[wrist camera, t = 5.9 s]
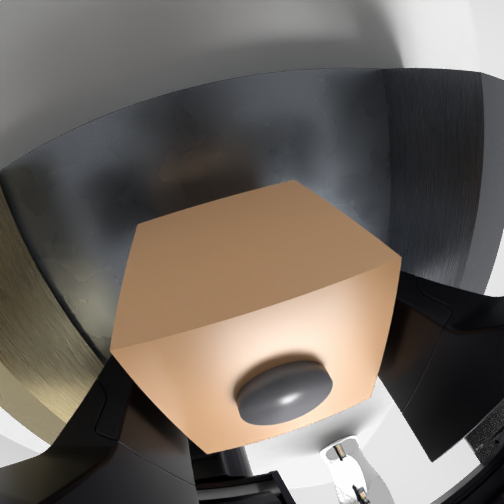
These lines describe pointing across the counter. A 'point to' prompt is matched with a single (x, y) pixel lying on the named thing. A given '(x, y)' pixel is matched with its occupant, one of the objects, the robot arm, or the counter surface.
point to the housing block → (254, 314)
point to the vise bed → (271, 173)
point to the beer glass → (354, 474)
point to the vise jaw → (37, 343)
